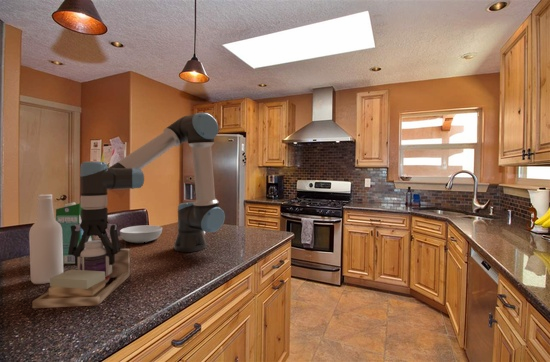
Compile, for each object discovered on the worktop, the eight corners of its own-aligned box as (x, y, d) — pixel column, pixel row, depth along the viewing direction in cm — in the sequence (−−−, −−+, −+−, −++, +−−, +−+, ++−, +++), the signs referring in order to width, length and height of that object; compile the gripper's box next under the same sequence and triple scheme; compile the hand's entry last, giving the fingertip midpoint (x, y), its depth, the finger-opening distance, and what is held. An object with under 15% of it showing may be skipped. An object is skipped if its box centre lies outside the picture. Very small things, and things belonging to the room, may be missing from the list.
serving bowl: (151, 246, 137) (151, 233, 137) (111, 246, 137) (111, 232, 137) (168, 236, 158) (168, 225, 158) (133, 236, 158) (133, 224, 158)
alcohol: (46, 274, 99) (43, 193, 98) (69, 274, 99) (67, 193, 98) (23, 284, 90) (20, 195, 89) (49, 285, 90) (46, 195, 89)
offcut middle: (105, 285, 86) (105, 277, 86) (92, 295, 79) (92, 287, 79) (65, 286, 85) (65, 278, 85) (48, 296, 78) (48, 288, 78)
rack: (129, 275, 99) (129, 248, 98) (97, 305, 77) (97, 270, 77) (80, 277, 97) (79, 249, 96) (32, 308, 75) (31, 272, 75)
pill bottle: (114, 281, 94) (114, 240, 93) (92, 290, 86) (92, 246, 86) (98, 277, 96) (97, 238, 96) (74, 286, 89) (74, 243, 88)
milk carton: (71, 257, 119) (70, 201, 118) (92, 256, 120) (92, 201, 119) (56, 264, 110) (55, 203, 109) (79, 263, 111) (78, 203, 110)
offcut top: (105, 279, 84) (105, 271, 84) (86, 288, 77) (86, 280, 77) (70, 277, 86) (70, 269, 86) (49, 286, 79) (49, 277, 79)
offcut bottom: (105, 293, 86) (105, 285, 86) (92, 304, 79) (92, 295, 79) (65, 294, 85) (65, 286, 85) (48, 305, 78) (48, 296, 78)
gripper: (131, 206, 95) (132, 269, 96) (68, 206, 93) (69, 271, 94) (122, 209, 88) (123, 277, 89) (52, 209, 85) (54, 280, 86)
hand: (95, 274), depth 91 cm, fingers closed on pill bottle, 8 cm apart
